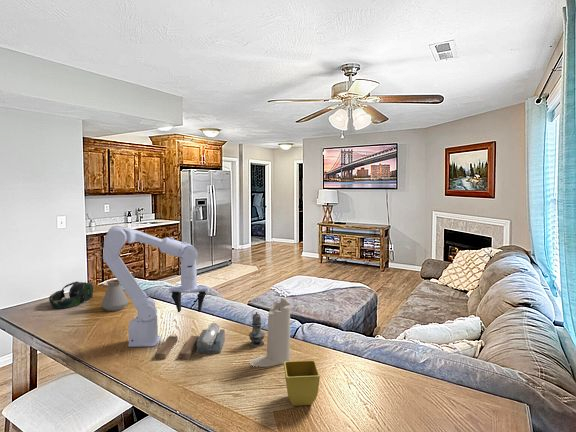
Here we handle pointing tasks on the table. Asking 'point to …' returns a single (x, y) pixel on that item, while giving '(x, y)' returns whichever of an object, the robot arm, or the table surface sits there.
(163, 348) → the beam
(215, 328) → the axle
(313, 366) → the flower pot
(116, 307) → the coffee pot
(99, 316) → the table surface
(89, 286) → the headphones
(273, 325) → the white boot
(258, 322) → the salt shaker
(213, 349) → the v block
